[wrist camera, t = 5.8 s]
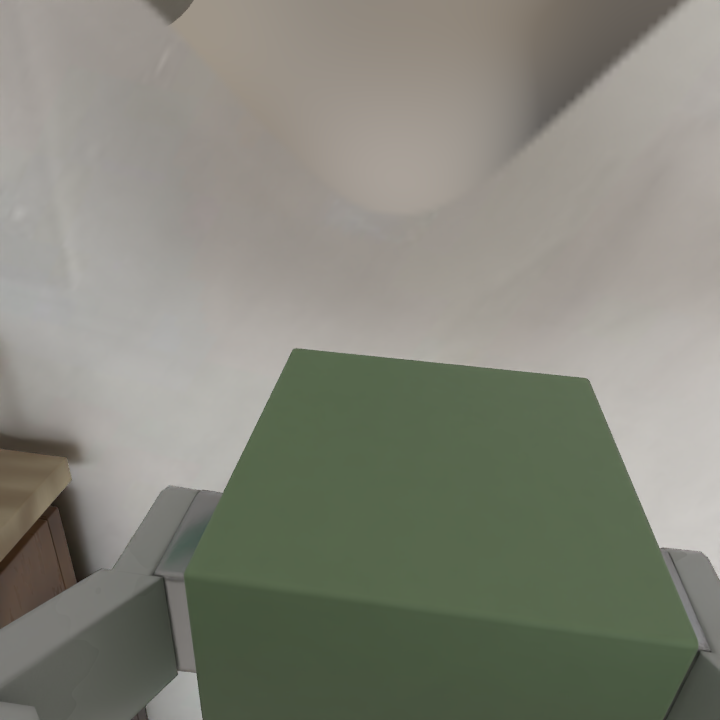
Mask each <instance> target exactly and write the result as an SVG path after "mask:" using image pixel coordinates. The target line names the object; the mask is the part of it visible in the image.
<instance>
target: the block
mask: <svg viewBox="0 0 720 720" xmlns="http://www.w3.org/2000/svg"><path fill="white" fill-rule="evenodd" d="M184 582H185V589H186V597H187V605H188V612H189V620H190V627H191V635H192V642H193V650H194V657H195V665H196V673H197V680H198V688H199V695H200V703H201V710H202V718H203V720H663V719H664V717H665V715H666V713H667V711H668V709H669V707H670V705H671V703H672V701H673V699H674V697H675V695H676V693H677V691H678V689H679V687H680V685H681V683H682V681H683V679H684V677H685V675H686V673H687V671H688V669H689V667H690V665H691V663H692V661H693V659H694V657H695V655H696V653H697V651H698V645H699V644H698V639H697V637H696V634H695V632H694V630H693V627H692V625H691V622H690V620H689V618H688V615H687V613H686V610H685V608H684V606H683V603H682V601H681V599H680V596H679V594H678V591H677V589H676V587H675V584H674V582H673V579H672V577H671V575H670V572H669V570H668V568H667V565H666V563H665V560H664V558H663V556H662V553H661V551H660V548H659V546H658V544H657V541H656V539H655V536H654V534H653V532H652V529H651V527H650V525H649V522H648V520H647V517H646V515H645V513H644V510H643V508H642V505H641V503H640V501H639V498H638V496H637V494H636V491H635V489H634V486H633V484H632V482H631V479H630V477H629V474H628V472H627V470H626V467H625V465H624V462H623V460H622V458H621V455H620V453H619V451H618V448H617V446H616V443H615V441H614V439H613V436H612V434H611V431H610V429H609V427H608V424H607V422H606V419H605V417H604V415H603V412H602V410H601V408H600V405H599V403H598V400H597V398H596V396H595V393H594V391H593V388H592V386H591V384H590V381H589V380H588V379H586V378H579V377H570V376H560V375H550V374H541V373H531V372H521V371H511V370H502V369H492V368H482V367H472V366H463V365H453V364H443V363H433V362H424V361H414V360H404V359H395V358H385V357H375V356H365V355H356V354H346V353H336V352H326V351H317V350H307V349H297V348H296V349H293V350H292V352H291V354H290V356H289V359H288V361H287V363H286V365H285V367H284V369H283V371H282V373H281V375H280V377H279V379H278V381H277V383H276V385H275V387H274V389H273V391H272V393H271V395H270V398H269V400H268V402H267V404H266V406H265V408H264V410H263V412H262V414H261V416H260V418H259V420H258V422H257V424H256V426H255V428H254V430H253V432H252V434H251V437H250V439H249V441H248V443H247V445H246V447H245V449H244V451H243V453H242V455H241V457H240V459H239V461H238V463H237V465H236V467H235V469H234V471H233V473H232V476H231V478H230V480H229V482H228V484H227V486H226V488H225V490H224V492H223V494H222V496H221V498H220V500H219V502H218V504H217V506H216V508H215V510H214V512H213V515H212V517H211V519H210V521H209V523H208V525H207V527H206V529H205V531H204V533H203V535H202V537H201V539H200V541H199V543H198V545H197V547H196V549H195V551H194V554H193V556H192V558H191V560H190V562H189V564H188V566H187V568H186V570H185V572H184Z"/></svg>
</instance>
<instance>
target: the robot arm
mask: <svg viewBox="0 0 720 720" xmlns="http://www.w3.org/2000/svg"><path fill="white" fill-rule="evenodd" d="M222 494H223V493H221V492H214V491H208V490H202V491H201V490H195V489H189V488H182V487H176V486H168V487H167V488H165V489H164V490H163V491H161V492H160V494H159V496H158V497H157V499H156V500H155V502H154V503H153V505H152V507H151V508H150V510H149V511H148V513H147V515H146V516H145V518H144V519H143V521H142V523H141V524H140V526H139V527H138V529H137V531H136V532H135V534H134V535H133V537H132V538H131V540H130V542H129V543H128V545H127V546H126V548H125V550H124V551H123V553H122V554H121V556H120V558H119V559H118V561H117V562H116V564H115V566H114V567H113V569H112V570H108V569H100V570H98V571H97V572H95V573H93V574H92V575H90V576H88V577H87V578H85V579H83V580H82V581H80V582H78V583H77V584H75V585H73V586H72V587H70V588H68V589H67V590H65V591H63V592H62V593H60V594H58V595H57V596H55V597H53V598H51V599H50V600H48V601H46V602H45V603H43V604H41V605H40V606H38V607H36V608H35V609H33V610H31V611H30V612H28V613H26V614H25V615H23V616H21V617H20V618H18V619H16V620H15V621H13V622H11V623H10V624H8V625H6V626H5V627H3V628H1V629H0V720H131V719H132V718H133V717H134V716H135V715H136V714H137V713H138V712H139V711H140V710H141V709H142V708H143V707H144V706H145V705H147V704H148V703H149V702H150V701H151V700H152V699H153V698H154V697H155V696H156V695H157V694H158V693H159V692H160V691H161V690H162V689H163V688H164V687H165V686H166V685H167V684H168V683H170V682H171V681H172V680H173V679H174V678H175V677H176V676H177V675H178V672H177V671H185V672H193V673H196V665H195V657H194V650H193V642H192V635H191V627H190V620H189V612H188V605H187V597H186V589H185V582H184V572H185V570H186V568H187V566H188V564H189V562H190V560H191V558H192V556H193V554H194V551H195V549H196V547H197V545H198V543H199V541H200V539H201V537H202V535H203V533H204V531H205V529H206V527H207V525H208V523H209V521H210V519H211V517H212V515H213V512H214V510H215V508H216V506H217V504H218V502H219V500H220V498H221V496H222ZM660 551H661V553H662V556H663V558H664V560H665V563H666V565H667V568H668V570H669V572H670V575H671V577H672V579H673V582H674V584H675V587H676V589H677V591H678V594H679V596H680V599H681V601H682V603H683V606H684V608H685V610H686V613H687V615H688V618H689V620H690V622H691V625H692V627H693V630H694V632H695V634H696V637H697V639H698V644H699V645H698V651H697V653H696V655H695V657H694V659H693V661H692V663H691V665H690V667H689V669H688V671H687V673H686V675H685V677H684V679H683V681H682V683H681V685H680V687H679V689H678V691H677V693H676V695H675V697H674V699H673V701H672V703H671V705H670V707H669V709H668V711H667V713H666V715H665V717H664V719H663V720H720V580H719V578H718V576H717V574H716V572H715V570H714V568H713V566H712V564H711V563H710V561H709V559H708V557H707V556H705V555H704V554H703V553H702V552H700V551H691V550H682V549H672V548H660Z"/></svg>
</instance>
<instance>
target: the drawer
mask: <svg viewBox="0 0 720 720" xmlns="http://www.w3.org/2000/svg"><path fill="white" fill-rule="evenodd" d="M71 480H72V478H71V474H70V469H69V465H68V461H67V458H66V457H59V456H52V455H44V454H37V453H29V452H22V451H14V450H7V449H0V629H1V628H3V627H5V626H6V625H8V624H10V623H11V622H13V621H15V620H16V619H18V618H20V617H21V616H23V615H25V614H26V613H28V612H30V611H31V610H33V609H35V608H36V607H38V606H40V605H41V604H43V603H45V602H46V601H48V600H50V599H51V598H53V597H55V596H57V595H58V594H60V593H62V592H63V591H65V590H67V589H68V588H70V587H72V586H73V585H75V584H77V581H76V577H75V573H74V569H73V565H72V561H71V557H70V553H69V549H68V545H67V541H66V537H65V533H64V529H63V525H62V521H61V517H60V513H59V509H58V507H54V506H50V505H51V503H52V502H53V501H54V500H55V499H56V498H57V497H58V495H59V494H60V493H61V492H62V491H63V490H64V488H65V487H66V486H67V485H68V484H69V483H70V482H71Z"/></svg>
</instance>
